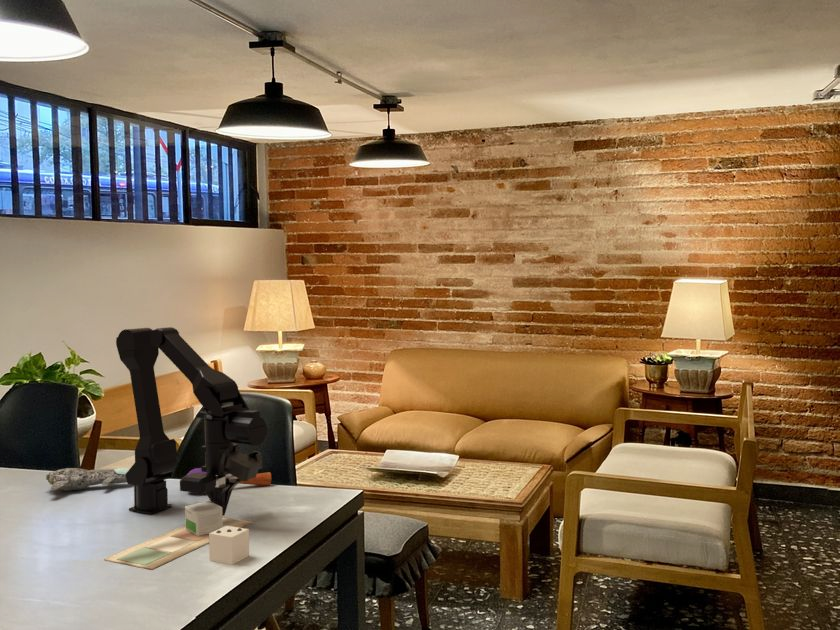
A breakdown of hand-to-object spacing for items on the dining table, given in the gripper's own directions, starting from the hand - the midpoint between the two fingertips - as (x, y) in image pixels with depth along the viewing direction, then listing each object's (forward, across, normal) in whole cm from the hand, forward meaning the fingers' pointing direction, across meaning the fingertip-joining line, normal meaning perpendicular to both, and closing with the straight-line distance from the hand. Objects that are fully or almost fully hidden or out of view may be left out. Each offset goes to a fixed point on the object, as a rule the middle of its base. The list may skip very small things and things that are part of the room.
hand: (221, 515), depth 168 cm
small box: (+2, -6, 0) cm, 6 cm away
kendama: (+2, +22, +15) cm, 27 cm away
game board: (+2, -11, 0) cm, 12 cm away
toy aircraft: (+2, +9, +44) cm, 45 cm away
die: (+2, -16, -13) cm, 21 cm away
